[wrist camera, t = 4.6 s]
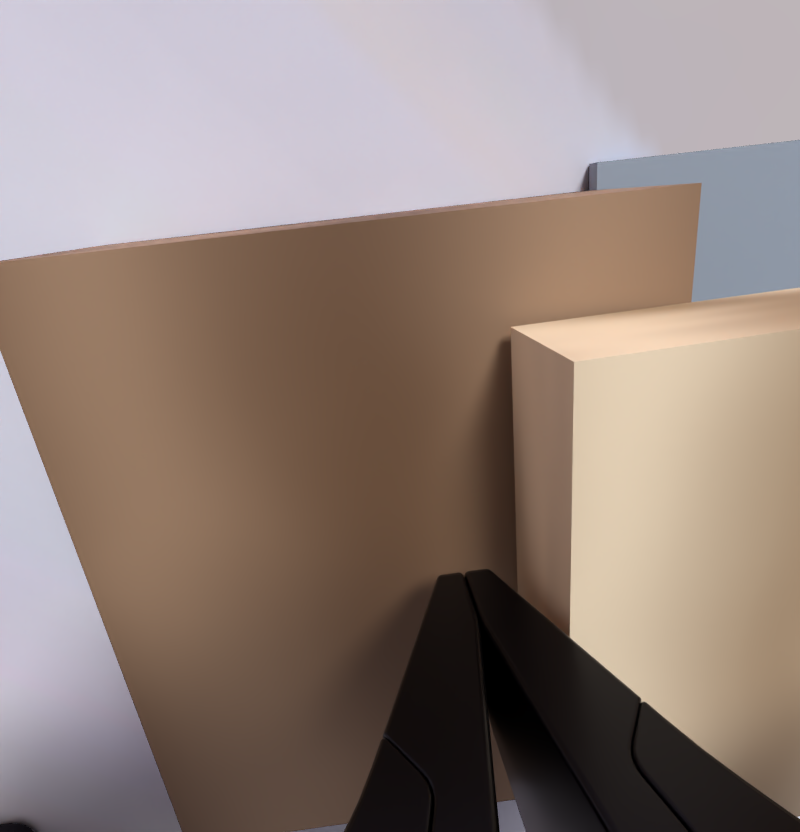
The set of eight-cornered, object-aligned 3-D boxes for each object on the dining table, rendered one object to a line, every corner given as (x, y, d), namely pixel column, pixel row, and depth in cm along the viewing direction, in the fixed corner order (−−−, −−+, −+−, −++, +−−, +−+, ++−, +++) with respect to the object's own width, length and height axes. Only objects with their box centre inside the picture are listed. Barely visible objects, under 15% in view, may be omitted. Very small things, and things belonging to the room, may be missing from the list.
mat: (580, 656, 16) (585, 667, 15) (589, 164, 11) (597, 162, 11) (916, 611, 16) (929, 620, 16) (1063, 110, 11) (1087, 107, 11)
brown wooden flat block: (229, 691, 15) (187, 846, 12) (100, 245, 11) (-32, 265, 7) (580, 643, 16) (649, 779, 12) (589, 190, 11) (702, 182, 8)
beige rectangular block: (522, 766, 11) (565, 877, 9) (511, 326, 8) (573, 362, 6) (789, 703, 12) (880, 795, 10) (879, 276, 9) (1039, 294, 7)
